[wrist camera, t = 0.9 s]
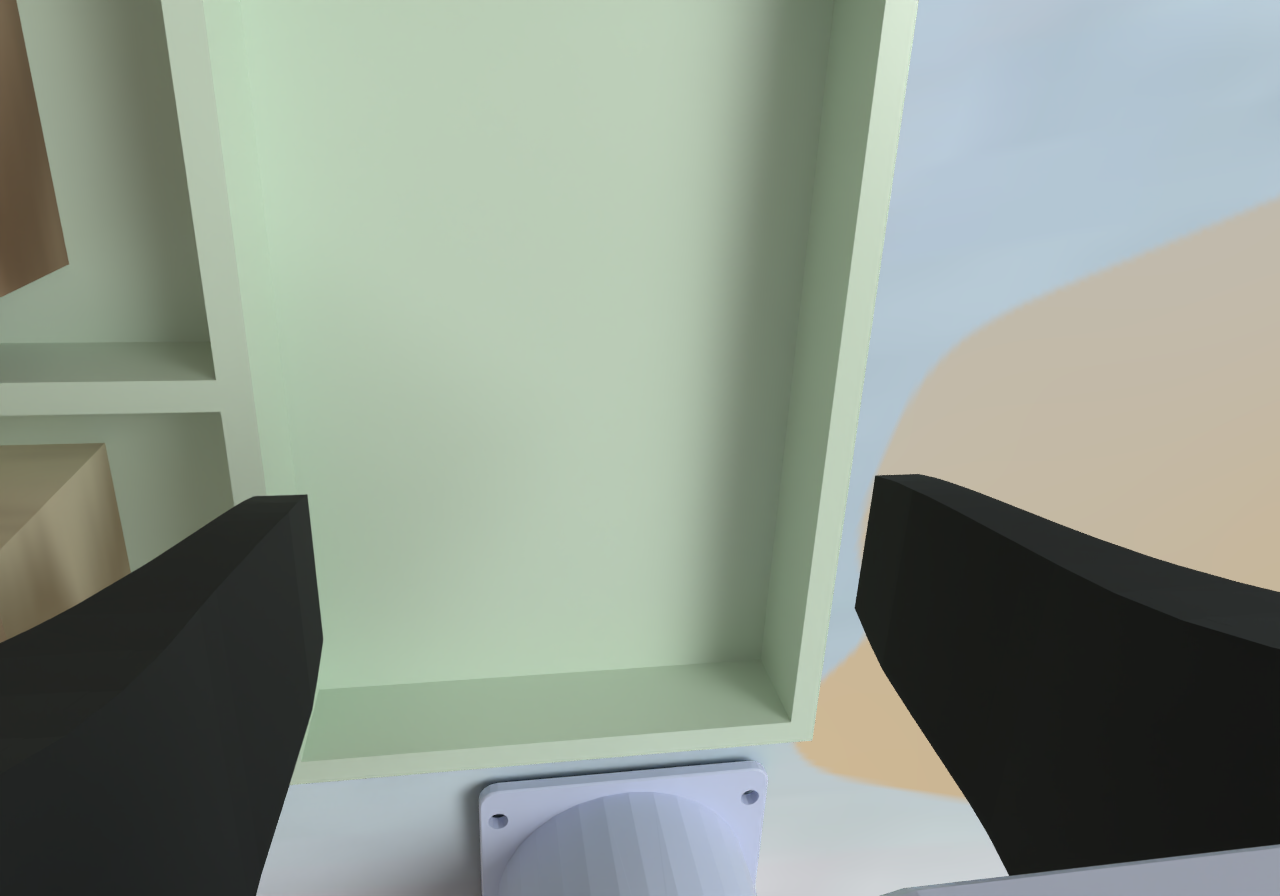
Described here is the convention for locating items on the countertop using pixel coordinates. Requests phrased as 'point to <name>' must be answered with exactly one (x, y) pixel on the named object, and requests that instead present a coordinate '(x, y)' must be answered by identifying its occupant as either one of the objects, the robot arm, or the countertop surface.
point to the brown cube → (23, 170)
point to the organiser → (482, 340)
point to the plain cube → (55, 531)
